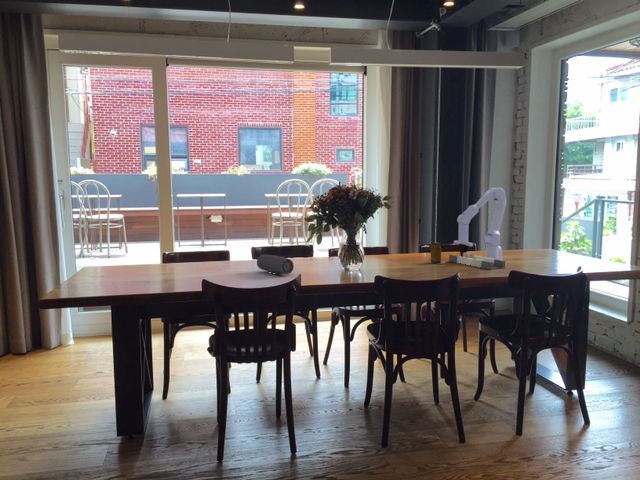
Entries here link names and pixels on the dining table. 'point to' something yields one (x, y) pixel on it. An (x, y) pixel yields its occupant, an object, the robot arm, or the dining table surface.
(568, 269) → the dining table surface
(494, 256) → the robot arm
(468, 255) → the maple block
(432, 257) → the condiment
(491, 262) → the trap box
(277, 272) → the bluetooth speaker
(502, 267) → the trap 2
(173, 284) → the dining table surface
